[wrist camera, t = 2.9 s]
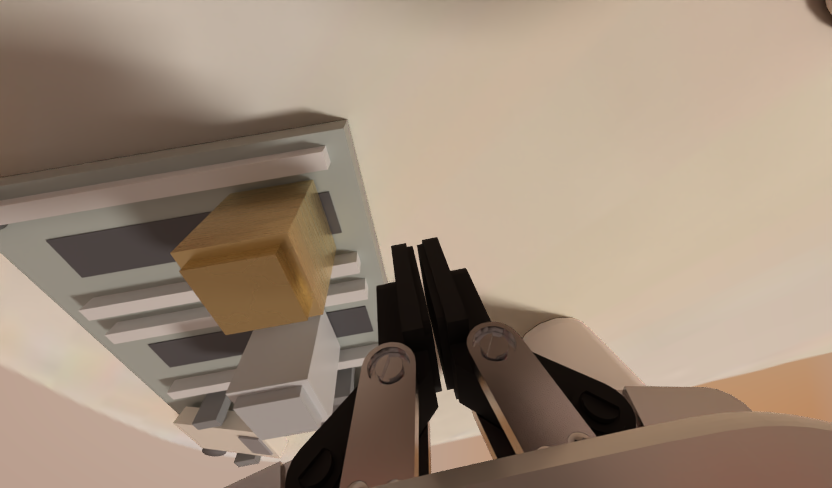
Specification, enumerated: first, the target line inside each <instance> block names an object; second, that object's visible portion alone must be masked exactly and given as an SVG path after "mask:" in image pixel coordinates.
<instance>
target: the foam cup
mask: <svg viewBox="0 0 832 488" xmlns="http://www.w3.org/2000/svg"><path fill="white" fill-rule="evenodd" d="M523 341H524V342H525V343H526V344H527V346H528V347H529V348H530V350H531V351H532V352H534V353H536V354H538V355H541V356H543V357H545V358H548V359H550V360H552V361H554V362H557V363H559V364H561V365H564V366H566V367H568V368H571V369H573V370H575V371H577V372H580V373H582V374H584V375H587V376H589V377H591V378H593V379H596V380H598V381H600V382H603V383H605V384H607V385H609V386H610V387H612V388H614V389H616V390H623V388H624V386H646V385H645V384H644V383H643V382H642V381H641V380H640V379H639V378H638V377H637V376H636V375H635V374H634V373H633V371H632V370H631V369H630V368H629V367H628V366H627V365H626V364H625V363H624V362H623V361H622V360H621V359H620V358H619V357H618V356H617V355H616V354H615V353H614V352H613V351H612V350H611V349H610V348H609V347H608V346H607V345H606V344H605V343H604V342H603V341H602V340H601V339H600V338H599V337H598V336H597V335H596V334H595V333H594V332H593V331H592V330H591V329H590V328H589V327H587V326H586V325H585V324H584V322H582V321H580V320H577V319H575V318H572V317H570V318H555V319H552V320H549V321H547V322H544V323H541V324H539V325H537V326H536V327H535V328H533V329H532V330H530V331H529V332H528V333H526V335H525V336H524V338H523Z"/></svg>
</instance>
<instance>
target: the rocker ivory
mask: <svg viewBox="0 0 832 488" xmlns="http://www.w3.org/2000/svg"><path fill="white" fill-rule="evenodd" d="M198 410H199V408H197V407H187V406H186V407H185V408H184V409H183V411H182V412H181V413H180V415H179V416H178V417H177V419H176V420H175V421H174V424H175V425H176V426H177V427H178V428H179V429H181V430H182V431H183V432H184V433H185V434H186V435H188V436H189V437H190V438H191V439H192V440H193V441H195V442H196V443H197V444H198V445H199V446H200V447H202V448H205V449H213V450H221V451H228V452H236V453H244V454H251V455H259V456H266V457H274V458H281V457H282V454H283V452H284V450H285V448H286V446H287V443H288V439H287V438H286V437H285V436H283V437H278V438H272V439H267V440H260V439H259V438H258V437H257V436H256V435H255V434H254V432H253V431H252V430H251V429H250V428H249V427H248V426H247V425H246V424H245V422H244V421H243V420H242V419H241V418H240V417H239V416H238V415H237V414H236V412H235V411H227V414H226V416H225V419H224V421H223V424H222V426H218V427H212V428H207V429H201V430H198V429H196V428H195V427H194V426H193V425H192V423H193V421H194V418H195V416H196V414H197V412H198Z"/></svg>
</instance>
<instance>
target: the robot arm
mask: <svg viewBox="0 0 832 488" xmlns="http://www.w3.org/2000/svg"><path fill="white" fill-rule="evenodd" d="M826 5H827V8H828V10H829V11H830V13H831V15H832V0H826ZM417 248H418V254H419V260H420V267H421V273H422V279H423V285H424V291H425V296H424V292H423V288H422V284H421V280H420V275H419V271H418V267H417V263H416V259H415V254H414V250H413V246H410V247H407V246H406V243H404V244H399V245H394V246H391V249H392V257H393V265H394V273H395V281H396V282H392V283H387V284H382V285H377V286H376V297H377V322H378V346H377V347H375V348H374V349H373V350H372V351H370V352H369V353H368V355H367V356H366V357H365V359H364V361H363V364H362V367H361V372H360V378H359V383H358V386H357V387H356V388H355V389H354V390H353V391H352V392H351V393H350V395H349V396H348V397H347V398H346V399H345V400H344V401H343V402H342V403H341V405H340V406H339V407H338V408H337V409H336V410H335V411H334V412H333V413H332V415H331V416H330V417H329V418H328V419H327V420H326V421H325V422H324V423H323V425H322V426H321V427H320V428H319V429H318V430H317V431H316V432H315V433H314V435H313V436H312V437H311V438H310V439H309V440H308V441H307V442H306V443H305V445H304V446H303V447H302V448H301V449H300V450H299V451H298V453H297V454H296V456H295V457H294V458H293V460H291V461H289V462H287V463H285V464H282V463H281V461H280V462H278V463H276V464H273V465H271V466H269V467H267V468H265V469H263V470H261V471H258V472H256V473H254V474H252V475H250V476H248V477H246V478H244V479H241V480H239V481H237V482H235V483H233V484H231V485H229V486H227V487H224V488H832V423H831V422H827V421H822V420H818V419H813V418H807V417H802V416H796V415H789V414H780V413H771V412H752V411H751V410H750V409H749V408H748V407H747V406H746V405H745V404H744V403H743V402H741V401H740V400H738V399H737V398H735V397H733V396H732V395H730V394H727V393H725V392H723V391H720V390H717V389H712V388H706V387H705V388H704V387H656V386H624V388H623V390H616V389H614V388H612V387H610V386H609V385H607V384H605V383H603V382H600V381H598V380H596V379H593V378H591V377H589V376H587V375H584V374H582V373H580V372H577V371H575V370H573V369H571V368H568V367H566V366H564V365H561V364H559V363H557V362H554V361H552V360H550V359H548V358H545V357H543V356H541V355H538V354H536V353H534V352H532V351H531V350H530V348H529V347H528V346H527V344H526V343H525V342H524V341H523V339H522V338H521V337H520V335H519V334H518V333H517V332H516V331H515V330H514V329H513V328H511V327H509V326H508V325H506V324H502V323H499V322H491V321H490V318H489V316H488V314H487V312H486V310H485V308H484V305H483V303H482V301H481V299H480V297H479V295H478V293H477V290H476V288H475V286H474V284H473V282H472V280H471V277H470V275H469V273H468V271H467V269H466V268H463V269H458V270H453V271H450V269H449V267H448V264H447V262H446V259H445V256H444V254H443V251H442V249H441V246H440V243H439V241H438V238H437V237H436V238H430V239H425V240H422V244H420V245H417ZM425 297H426V300H425ZM426 303H427V305H426ZM427 308H428V309H427ZM428 312H429V313H428ZM429 316H430V317H429ZM430 320H431V322H430ZM431 324H432V327H431ZM432 329H433V332H432ZM433 333H434V337H435V341H436V345H437V349H438V354H439V358H440V362H441V366H442V370H443V374H444V379H445V383H446V387H447V390H449V389H454V392H455V396H456V399H459V402H460V403H461V404H463V405H465V406H466V407H468V408H470V409H471V410H472V413H473V417H474V419H475V421H476V423H477V425H478V428H479V430H480V432H481V434H482V436H483V439H484V441H485V443H486V445H487V447H488V449H489V452H490V454H491V456H492V458H493V460H490V461H486V462H481V463H477V464H472V465H468V466H463V467H459V468H454V469H450V470H446V471H441V472H437V473H432V474H431V447H430V423H429V420H430V419H431V417H432V416H433V414H434V413H435V411H436V410H437V408H438V403H437V397H436V392H440V391H442V388H441V382H440V376H439V369H438V363H437V357H436V351H435V344H434V338H433Z"/></svg>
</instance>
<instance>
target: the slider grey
mask: <svg viewBox="0 0 832 488" xmlns="http://www.w3.org/2000/svg"><path fill="white" fill-rule="evenodd" d="M339 354H340V345H339V342H338V340H337V338H336V335H335V333H334V331H333V328H332V326H331V324H330V321H329V319H328V317H327V314H326V312H325V310H324V313H323V315H318V316H313V317H308V321H303V322H297V323H292V324H286V325H280V326H275V327H269V328H263V329H258V330H253V332H252V334H251V337H250V339H249V341H248V343H247V346H246V348H245V350H244V353H243V355H242V357H241V359H240V362H239V364H238V366H237V369H236V371H235V373H234V375H233V378H232V380H231V382H230V385H229V387H228V389H227V391H226V395H227V396H228V398H229V399H230V400H231V401H232V402H233V403H234V407H233V410H234V411H235V412H236V414H237V415H238V416H239V417H240V418H241V419H242V420H243V421H244V422H245V424H246V425H247V426H248V427H249V428H250V429H251V430H252V431H253V432H254V434H255V435H256V436H257V437H258V438H259V439H260V440H267V439H272V438H278V437H283V436H289V435H294V434H300V433H305V432H311V431H316V430H318V429H319V428H320V427H321V422H325V421H326V420H327V419H328V418H329V417H330V416H331V415H332V411H333V403H334V395H335V387H336V379H337V370H338V362H339Z"/></svg>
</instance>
